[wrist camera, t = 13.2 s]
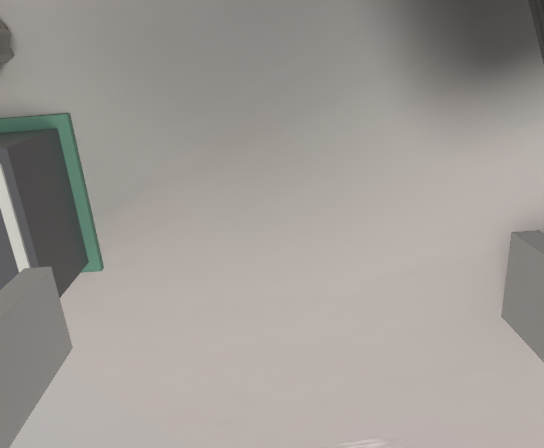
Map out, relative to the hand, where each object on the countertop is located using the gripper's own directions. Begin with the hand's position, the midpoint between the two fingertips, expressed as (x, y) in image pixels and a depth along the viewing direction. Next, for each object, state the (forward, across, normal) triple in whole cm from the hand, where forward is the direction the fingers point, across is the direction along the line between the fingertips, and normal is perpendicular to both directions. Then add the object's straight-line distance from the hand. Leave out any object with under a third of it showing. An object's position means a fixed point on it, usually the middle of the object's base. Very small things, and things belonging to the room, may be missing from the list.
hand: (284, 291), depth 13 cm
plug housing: (+26, -20, -4) cm, 33 cm away
